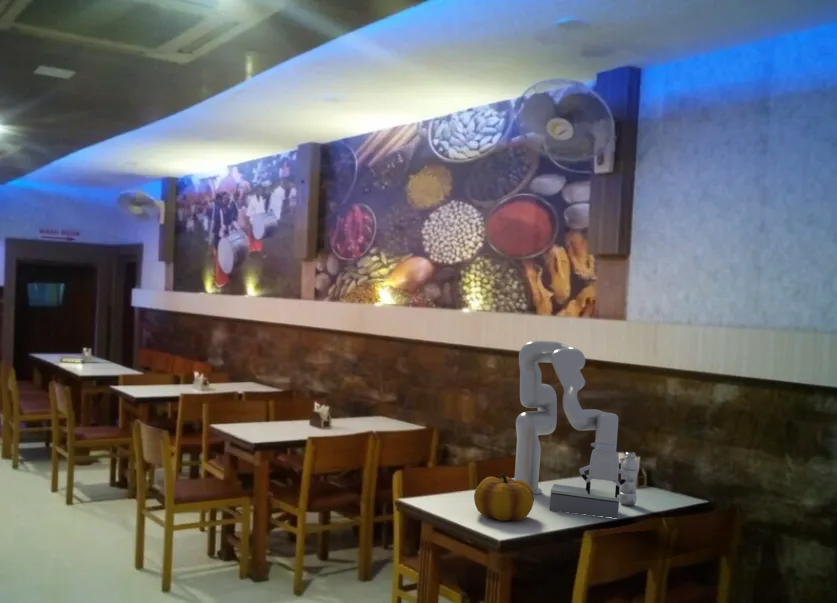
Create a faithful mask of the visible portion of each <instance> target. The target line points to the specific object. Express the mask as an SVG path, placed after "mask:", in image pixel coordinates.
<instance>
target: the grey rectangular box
mask: <svg viewBox="0 0 837 603" xmlns="http://www.w3.org/2000/svg"><path fill="white" fill-rule="evenodd" d="M549 496H550V497H549V498H550V499H549V511H551V510H554V511H553V512H558V511H561V513H565V512H569V513H568V514H572V513H578V514H577V515H580V514H586V515H585V516H587V515H595V516H603V517H612V518H617V519H618V518H619V510H620V509H619V507H620V502H618V501H610V500H603V499H595V498H588V497H581V496H573V495H566V494H558V493H551V492H550V495H549ZM618 520H619V519H618Z"/></svg>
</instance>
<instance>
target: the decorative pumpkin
mask: <svg viewBox="0 0 837 603" xmlns="http://www.w3.org/2000/svg"><path fill="white" fill-rule="evenodd" d="M473 498H474V499H473V500H474V501H473V502H474V504H475V507H476V509H477V512H479V514H480V515H482V516H484V517H487V518H491V519H492V518H493V519H495V520H496V521H497V520H498V521H499V522H505V521H515V522H517V521H522V520H524V519H525V518H526V517H527V516H528V515H529V514H530V512H531V511H532V509H533V506H534V503H535V495H534V493H533V490H532V488H531V486H530V485H529V484H528V483H527V482H525V481H522V480H516V481H515V480H513V479H512V477H509V476H506V475H505V474H504V473H501V474H500V478H499V477H498V478H497V477H496V476H487V477H485V478H483V479H482V481H480V483H479V484H478V486H477V487H476V488H475V491H474V494H473Z"/></svg>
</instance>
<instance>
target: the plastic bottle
mask: <svg viewBox="0 0 837 603" xmlns="http://www.w3.org/2000/svg"><path fill="white" fill-rule="evenodd" d="M620 469H621V470H622V471H624V472H625V473H627V474H628V475H629V477H628V478H627V480H626V481H625V483H624V484H622V485H621V486H620V492H619V493H620V496H619V504H621V505H624V506H635V505H636V504H637V501H638V498H637V485H636V484H637V479H638V478H637V477H638V473H639V472H638V471H639V464H638V462H637V460H636V452H634V451H633V452H632V451H625V455H624V460H623V461H622V462H621V464H620ZM620 476H621V477H620V478H621V479H620V480H622V479H623V478H624V476H623V475H621V474H620Z"/></svg>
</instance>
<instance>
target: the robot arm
mask: <svg viewBox="0 0 837 603" xmlns="http://www.w3.org/2000/svg"><path fill="white" fill-rule="evenodd" d="M585 357H586V356H585V355H584V352H582V351H581V350H580V349H578V348H575V347H573V346H570V345H568V344H565V343H562V342H559V341H550V340H549V341H548V340H547V341H546V340H532V341H529V342H526V343H525V344H524V345H522V347H521V348H520V350H519V353H518V366H519V401H520V404H521V405H522V406H523V407H525V408H528V409H535V408H536V409H537V410H533V411H531V410H529V411H524V412H521V413H520V414H519V415H518V416H516V419H515V431H516V449H515V450H516V453H515V465H514V467H515V469H514V477H511V479H513V480H515V481H516V480H522V481H525V482H527V483H528V484H529V485H530V486H531V488H532V490H533V493H534V496H535V495H540V494H542V491H543V490H542V488H540V487H539V476H540V464H541V452H542V450H541V449H542V448H541V443H540V439H539V436H547V435H550V434H552V433H553V432H554V431H555V430H556V428H557V424H558V423H557V418H558V417H557V416H558V409H557V408H558V407H557V406H558V402H557V400H558V398H557V397H558V396H557V393H556V390H555V388H553V386H552V385H550V384H547V383H542V376H543V375H542V371H541V368H540V366H539V363H545V364H546V363H549V364H550V363H551V364H552V366H553V370H554V371H555V373H556V376H557V379H558V380H559V382H560V384H561V386H562V388H563V394H562V408H563V411H564V413H565V416H566V418H567V420H568V423H569V424H570V425H571V427H572V428H573V429H575V430H577V431H583V432H584V431H595V440H594V442H591V443H590V447H592V448H594V449H592V451H591V454H590V461H589V465H586V466H584V467H583V466H582V467H580V468H579V469H578V471H579V473H580V476H581V478H582V479H583V480H584V482H585V488H586V491H588V493H587V494H590V489H591V484H592V483H591V480H592V479H593V480H601V481H609V482H614V483H615V489H614V490H615V491H614V492H615V497H616V498H617V495H619V493H620V489H621V485H622V484H624V483H625V481H626V480H627V478H628V477H629V475H628V474H627V473H625V472H624V471H622V470H621V468H620V467H619V466H620V458H619V452H618V451H617V445H618V444H617V443H618V430H619V416H618V415H617V414H616V413H613V412H605V411H603V410H601V409H592V408H591V409H590V408H589V409H583V408H582V407H581V405H580V402H579V399H578V392H579V391H580V390H581V389H583V387H584V386H585V384H586V380H585V378H584V375H583V374H582V372H581V369H583V368H584V367H585V365H586V358H585ZM588 470H589V471H588ZM585 471H588V476H587V475H586V474H585ZM619 474H620V476H621V475H623V476H624V478H623V479H619Z"/></svg>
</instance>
